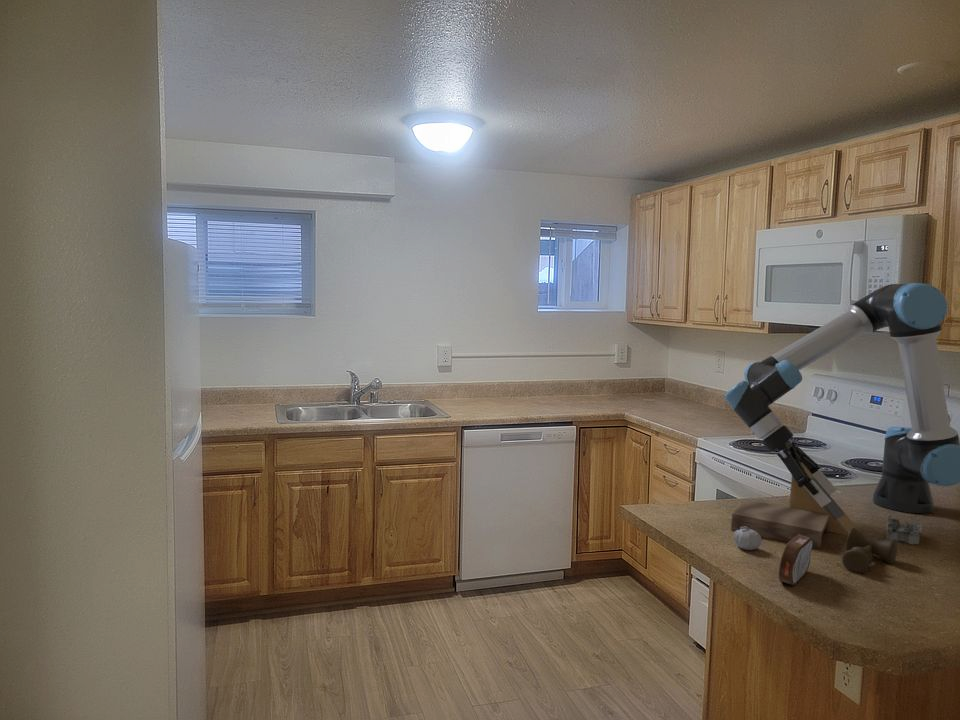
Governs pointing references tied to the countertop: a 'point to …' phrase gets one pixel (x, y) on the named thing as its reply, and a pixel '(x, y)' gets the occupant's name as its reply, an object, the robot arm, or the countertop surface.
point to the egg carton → (903, 531)
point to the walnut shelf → (780, 521)
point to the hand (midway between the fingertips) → (829, 498)
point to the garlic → (747, 538)
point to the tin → (795, 559)
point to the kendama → (866, 551)
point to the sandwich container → (806, 502)
